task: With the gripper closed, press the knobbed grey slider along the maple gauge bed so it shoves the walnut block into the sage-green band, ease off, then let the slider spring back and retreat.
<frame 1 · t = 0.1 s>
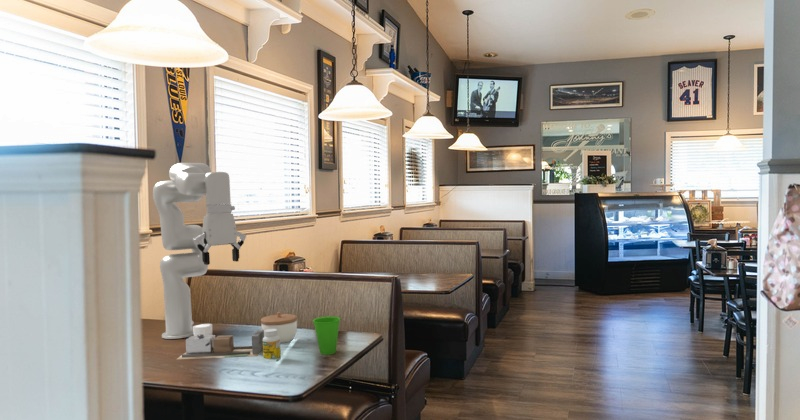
hand: (221, 262, 181), 31 cm above the table, tool pointing down, fingers open, 9 cm apart
cup: (328, 353, 183), on the table
shot glass: (203, 345, 200), on the table
lidded bowl: (280, 343, 198), on the table
knobbed grey slider: (199, 344, 183), point 4 cm above the table, slide at 0.0 cm
gauge bed: (222, 356, 184), on the table
supplement bottle: (272, 360, 177), on the table
walnut block: (224, 352, 184), point 1 cm above the table, touching gauge bed
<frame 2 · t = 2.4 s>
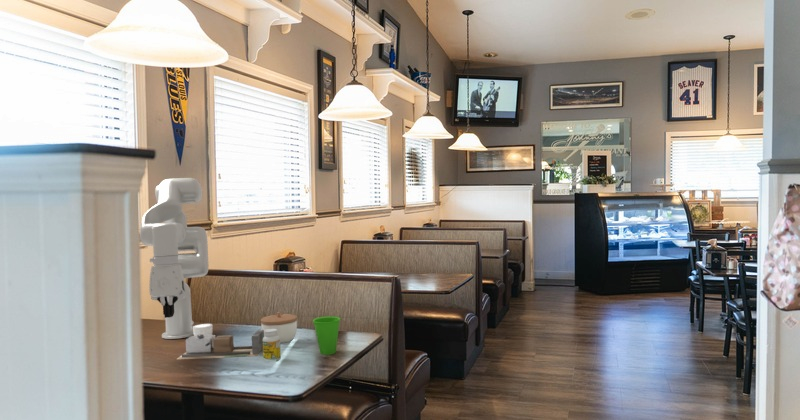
hand: (169, 316, 183), 14 cm above the table, tool pointing down, fingers closed
nothing on the table moved.
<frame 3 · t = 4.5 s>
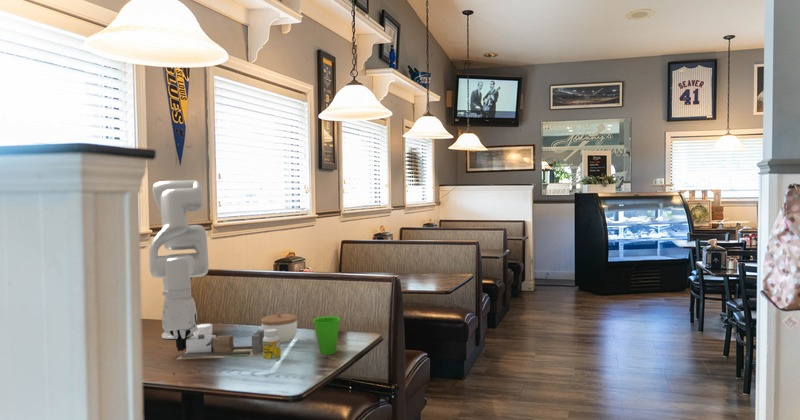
hand: (181, 349, 184), 3 cm above the table, tool pointing down, fingers closed
knobbed grey slider: (200, 344, 183), point 4 cm above the table, slide at 0.2 cm, touching gripper
everything else where it was.
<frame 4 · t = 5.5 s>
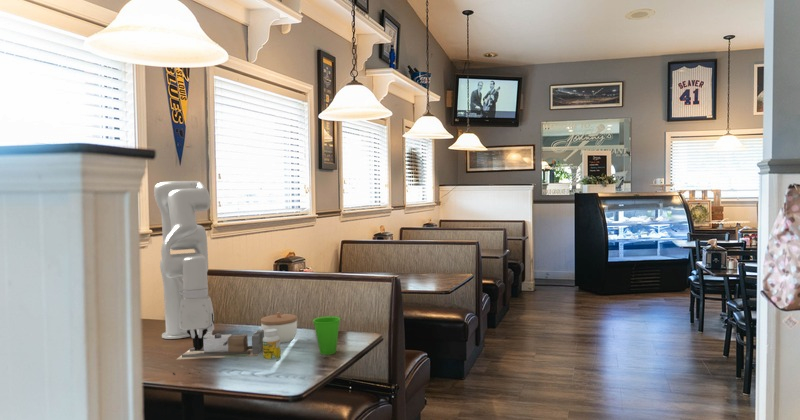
hand: (198, 349, 184), 3 cm above the table, tool pointing down, fingers closed
knobbed grey slider: (217, 343, 183), point 4 cm above the table, slide at 5.8 cm, touching gripper, walnut block
walnut block: (238, 351, 184), point 1 cm above the table, touching knobbed grey slider
everything else where it was.
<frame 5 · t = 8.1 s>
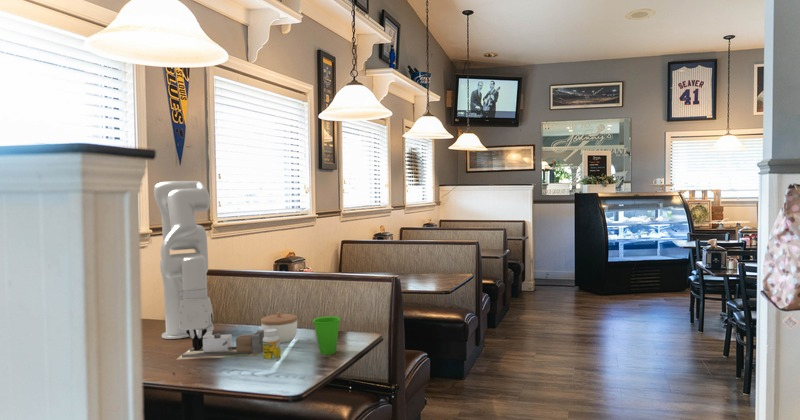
hand: (198, 349, 184), 3 cm above the table, tool pointing down, fingers closed
knobbed grey slider: (216, 343, 183), point 4 cm above the table, slide at 5.6 cm, touching gripper
walnut block: (246, 351, 184), point 1 cm above the table, touching gauge bed
everything else where it was.
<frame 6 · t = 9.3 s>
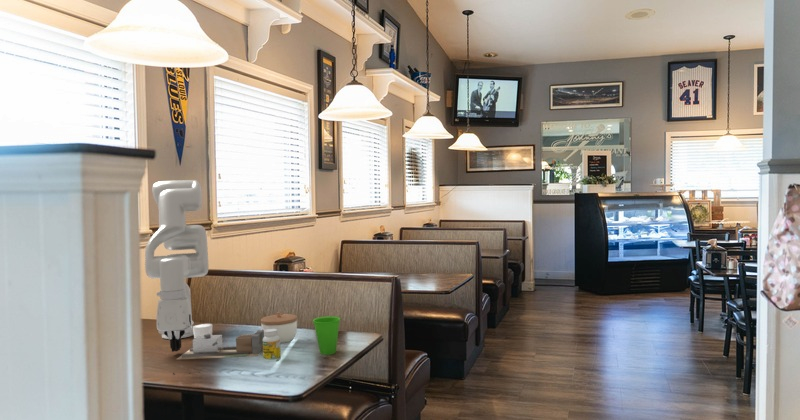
hand: (176, 350, 184), 3 cm above the table, tool pointing down, fingers closed
knobbed grey slider: (206, 344, 183), point 4 cm above the table, slide at 2.3 cm
everything else where it was.
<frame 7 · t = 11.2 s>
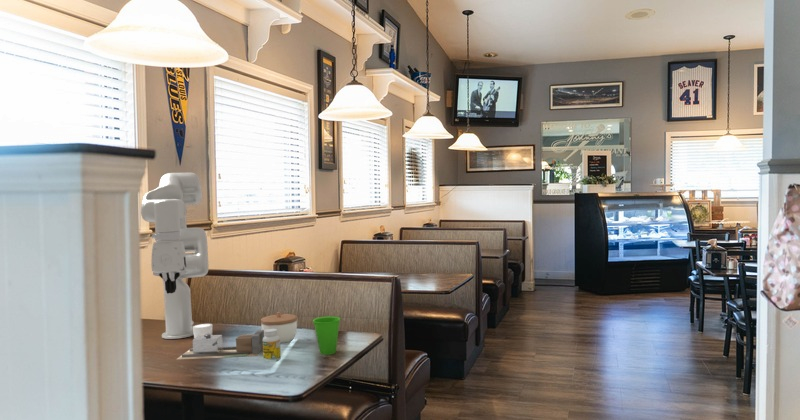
hand: (171, 292, 184), 22 cm above the table, tool pointing down, fingers closed
nothing on the table moved.
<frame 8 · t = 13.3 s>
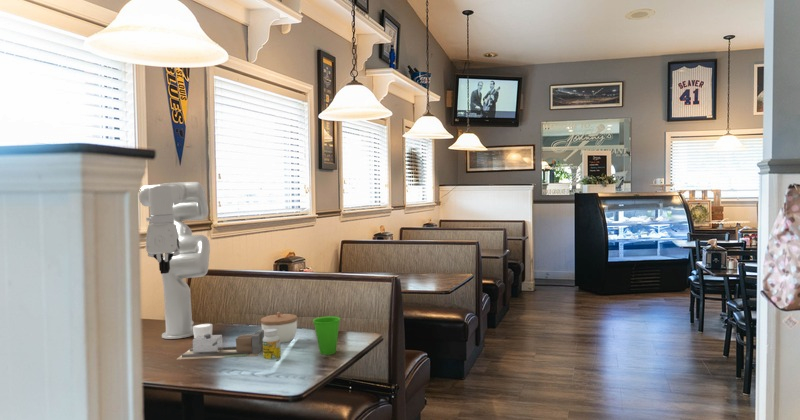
hand: (164, 272, 193), 27 cm above the table, tool pointing down, fingers closed
nothing on the table moved.
at the end: walnut block inside the target area (1.4 cm from its centre), point 1.2 cm above the table; knobbed grey slider slide at 2.3 cm; walnut block tilted 0° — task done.
